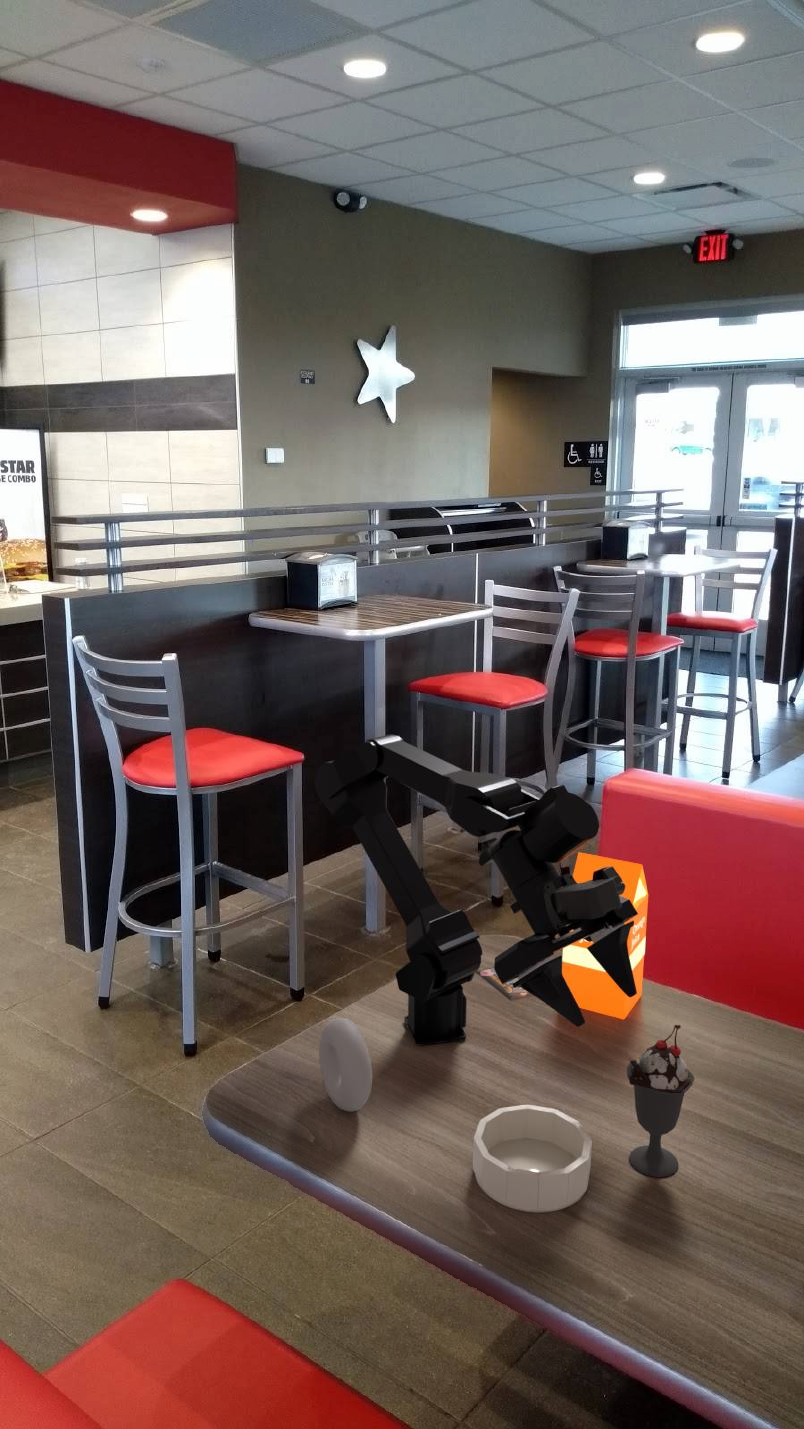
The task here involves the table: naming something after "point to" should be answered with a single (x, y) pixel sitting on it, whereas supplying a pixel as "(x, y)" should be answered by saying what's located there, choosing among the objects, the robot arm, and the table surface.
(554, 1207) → the white faceted bowl
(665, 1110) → the sundae
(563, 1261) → the table surface
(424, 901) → the robot arm
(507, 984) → the chocolate bar
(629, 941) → the orange juice
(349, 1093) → the donut
